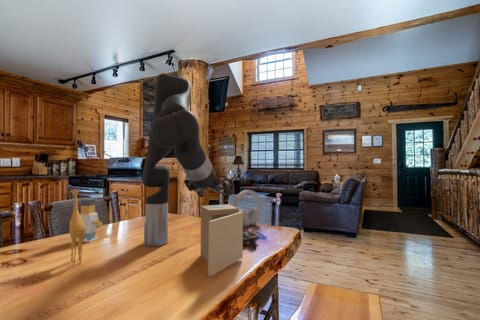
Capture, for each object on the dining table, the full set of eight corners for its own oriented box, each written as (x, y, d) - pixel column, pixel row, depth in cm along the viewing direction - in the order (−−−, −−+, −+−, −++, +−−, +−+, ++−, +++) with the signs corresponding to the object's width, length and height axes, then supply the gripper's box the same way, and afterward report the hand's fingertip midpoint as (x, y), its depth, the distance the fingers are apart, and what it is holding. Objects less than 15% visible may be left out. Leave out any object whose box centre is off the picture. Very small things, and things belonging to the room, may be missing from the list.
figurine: (234, 220, 132) (268, 233, 106) (234, 231, 132) (268, 247, 106) (212, 223, 126) (241, 237, 100) (212, 234, 126) (241, 252, 99)
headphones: (238, 230, 133) (238, 191, 134) (229, 227, 140) (229, 190, 140) (265, 225, 145) (265, 189, 145) (255, 222, 151) (255, 188, 152)
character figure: (76, 239, 115) (77, 199, 115) (102, 236, 120) (103, 198, 120) (74, 244, 108) (75, 201, 108) (102, 241, 113) (103, 199, 113)
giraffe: (65, 254, 95) (67, 187, 96) (79, 252, 98) (81, 186, 98) (70, 269, 82) (72, 191, 83) (86, 265, 85) (88, 190, 86)
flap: (240, 257, 91) (240, 212, 91) (242, 257, 91) (242, 212, 91) (208, 275, 76) (208, 221, 76) (210, 276, 75) (211, 221, 76)
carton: (208, 264, 87) (209, 210, 87) (200, 255, 96) (201, 205, 96) (238, 259, 91) (238, 207, 92) (227, 251, 100) (228, 204, 101)
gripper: (226, 159, 72) (237, 187, 84) (180, 156, 75) (198, 184, 88) (219, 182, 67) (232, 208, 80) (171, 178, 71) (191, 204, 84)
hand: (214, 196), depth 84 cm, fingers open, 8 cm apart
